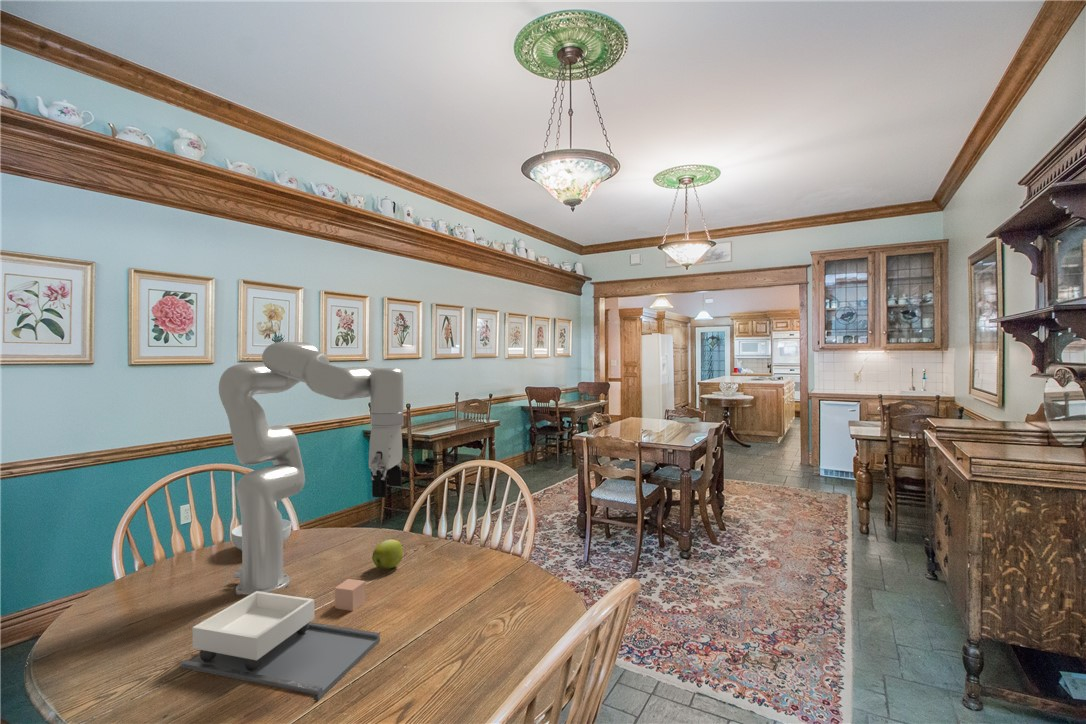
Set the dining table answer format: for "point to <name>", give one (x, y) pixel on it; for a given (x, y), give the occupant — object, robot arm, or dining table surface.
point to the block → (350, 594)
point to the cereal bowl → (237, 533)
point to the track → (299, 660)
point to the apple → (388, 554)
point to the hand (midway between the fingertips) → (387, 490)
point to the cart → (253, 626)
